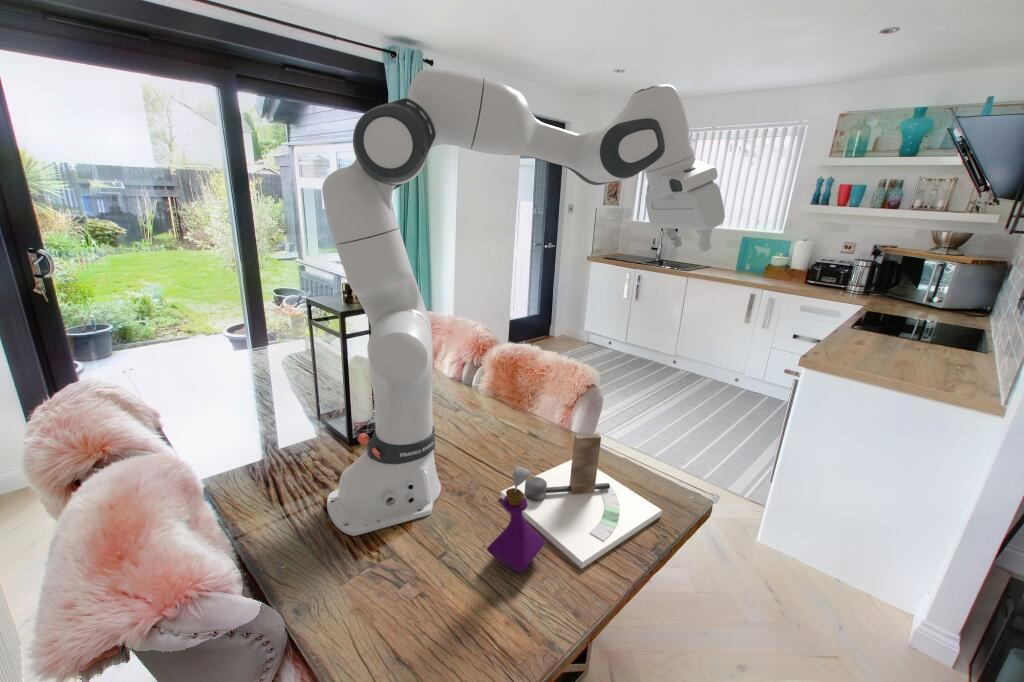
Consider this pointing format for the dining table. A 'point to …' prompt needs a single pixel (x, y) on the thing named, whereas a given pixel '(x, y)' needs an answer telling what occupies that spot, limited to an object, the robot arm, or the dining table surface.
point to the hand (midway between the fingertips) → (690, 248)
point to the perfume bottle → (516, 530)
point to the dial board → (587, 515)
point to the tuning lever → (573, 470)
